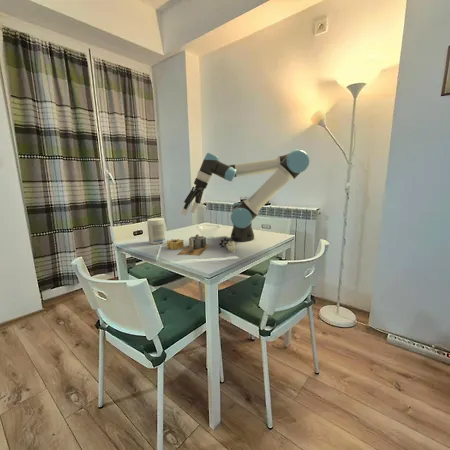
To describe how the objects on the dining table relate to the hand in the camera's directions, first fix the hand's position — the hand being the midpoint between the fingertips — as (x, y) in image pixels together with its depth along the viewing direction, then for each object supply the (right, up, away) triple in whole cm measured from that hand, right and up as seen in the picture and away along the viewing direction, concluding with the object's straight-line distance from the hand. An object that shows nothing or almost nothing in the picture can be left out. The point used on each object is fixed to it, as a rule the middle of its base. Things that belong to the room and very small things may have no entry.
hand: (187, 213), depth 148 cm
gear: (+7, -19, -8) cm, 22 cm away
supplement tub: (-20, -18, +8) cm, 28 cm away
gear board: (+6, -21, -13) cm, 26 cm away
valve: (+24, -22, -14) cm, 35 cm away
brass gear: (-6, -21, -8) cm, 23 cm away
